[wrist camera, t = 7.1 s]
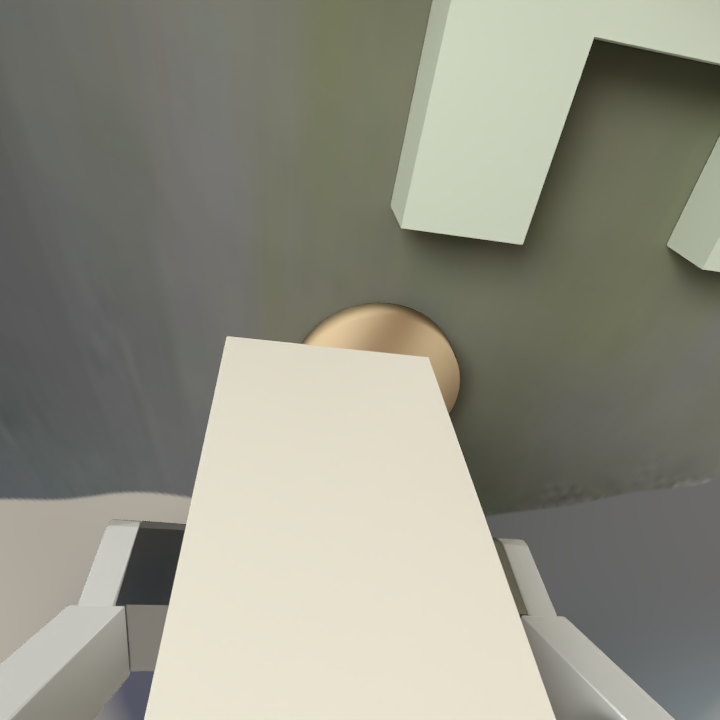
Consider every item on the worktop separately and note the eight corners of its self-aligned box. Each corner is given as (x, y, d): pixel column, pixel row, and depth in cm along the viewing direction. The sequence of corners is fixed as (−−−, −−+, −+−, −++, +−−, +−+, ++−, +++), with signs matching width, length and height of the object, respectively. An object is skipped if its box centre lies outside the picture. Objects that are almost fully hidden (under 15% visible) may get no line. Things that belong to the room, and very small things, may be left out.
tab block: (428, 357, 13) (612, 878, 5) (388, 496, 15) (475, 991, 8) (226, 336, 12) (102, 909, 4) (218, 486, 14) (127, 1026, 7)
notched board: (933, -40, 23) (1012, -44, 20) (758, 258, 30) (801, 282, 27) (466, -166, 19) (492, -191, 17) (390, 205, 26) (400, 228, 23)
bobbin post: (472, 312, 30) (657, 640, 15) (431, 441, 34) (539, 788, 19) (302, 293, 28) (313, 639, 13) (284, 431, 33) (277, 801, 18)
